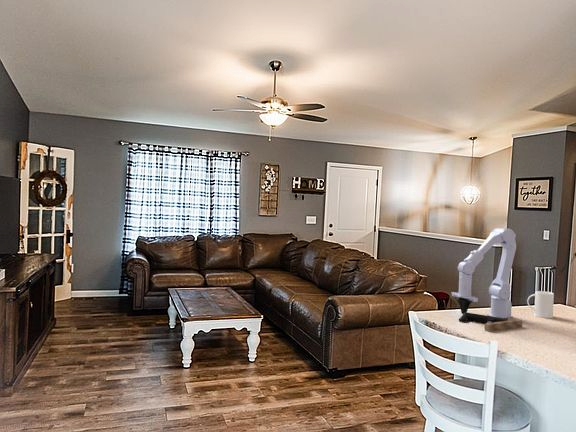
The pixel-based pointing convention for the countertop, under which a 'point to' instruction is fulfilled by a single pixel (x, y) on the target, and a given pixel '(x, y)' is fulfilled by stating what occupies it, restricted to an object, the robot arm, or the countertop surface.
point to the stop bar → (503, 325)
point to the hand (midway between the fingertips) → (463, 313)
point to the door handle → (480, 318)
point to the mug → (543, 304)
